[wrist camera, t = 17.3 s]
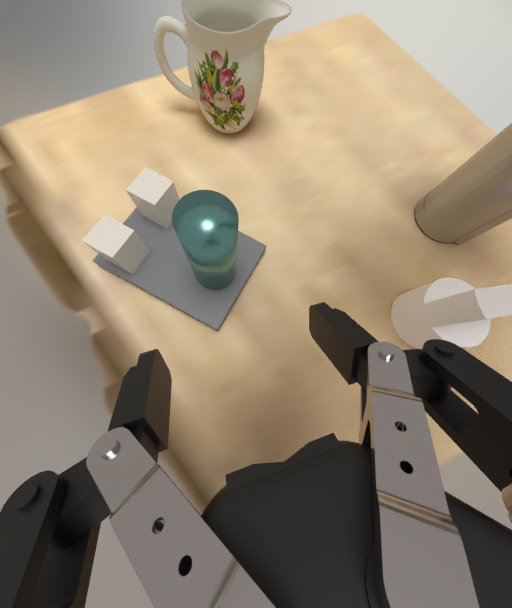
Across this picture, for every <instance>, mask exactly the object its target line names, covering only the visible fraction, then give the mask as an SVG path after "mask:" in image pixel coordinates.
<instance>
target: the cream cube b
mask: <svg viewBox="0 0 512 608" xmlns="http://www.w3.org/2000/svg"><path fill="white" fill-rule="evenodd" d="M126 191H127V192H128V194H129V195H130V197H131V198H132V200H133V201H134V203H135V205H136V206H137V208H138V209H139V211H140V212H141V214H142V215H143V216H144V217H146V218H148V219H150V220H152V221H153V222H155V223H157V224H159V225H161V226H163V227H165V228H166V229H167V228H168V227H169V225H170V224H171V223H172V212H173V209H174V207H175V205H176V204H177V202H178V201H179V197H178V194H177V191H176V188H175V185H174V182H173V181H171V180H169V179H167V178H165V177H163V176H162V175H160V174H158V173H156V172H154V171H152V170H150V169H148V168H146V167H145V169H144V170H143V171H142V172H141V173H140V174H139V175H138V177H137V178H136V179H135V180H134V181H133V182H132V184H131V185H130V186H129V187H128V188H127V189H126Z"/></svg>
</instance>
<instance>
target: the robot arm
mask: <svg viewBox="0 0 512 608" xmlns="http://www.w3.org/2000/svg"><path fill="white" fill-rule="evenodd" d="M415 217H416V221H417V223H418V225H419V227H420V228H421V230H422V231H423V232H424V233H425V234H426V235H428V236H429V237H430V238H432V239H434V240H436V241H439V242H444V243H450V242H455V243H457V244H462V243H464V242H466V241H468V240H470V239H472V238H474V237H476V236H478V235H480V234H482V233H484V232H485V231H487V230H489V229H491V228H493V227H495V226H497V225H499V224H501V223H503V222H505V221H507V220H509V219H511V218H512V123H511V124H510V125H509V126H508V127H506V128H505V129H504V130H503V131H502V132H501V133H499V134H498V135H497V136H496V137H495V138H493V139H492V140H491V141H490V142H489V143H487V144H486V145H485V146H484V147H483V148H482V149H480V150H479V151H478V152H477V153H476V154H474V155H473V156H472V157H471V158H470V159H469V160H467V161H466V162H465V163H464V164H463V165H462V166H460V167H459V168H458V169H457V170H456V171H454V172H453V173H452V174H451V175H450V176H449V177H447V178H446V179H445V180H444V181H443V182H441V183H440V184H439V185H438V186H437V187H436V188H434V189H433V190H432V191H430V192H429V193H428V194H427V195H426V196H425V197H424V198H423V199H421V200H420V201H419V202H418V204H417V206H416V209H415ZM309 329H310V333H311V336H312V338H313V339H314V340H315V342H316V343H317V344H318V345H319V347H320V348H321V349H322V351H323V352H324V353H325V354H326V356H327V357H328V358H329V360H330V361H331V362H332V363H333V365H334V366H335V367H336V369H337V370H338V371H339V372H340V374H341V375H342V376H343V378H344V379H345V380H346V381H347V383H348V384H349V385H350V384H353V383H356V382H358V383H359V385H360V386H361V388H360V432H359V443H355V442H350V441H338V440H337V438H336V436H335V435H334V433H332V434H329V435H327V436H324V437H322V438H319V439H317V440H314V441H311V442H309V443H308V444H306V445H305V446H304V447H302V448H301V449H300V450H299V451H297V452H296V453H295V454H294V455H292V456H291V457H290V458H289V459H287V460H286V461H284V462H275V463H262V464H253V465H250V466H248V467H245V468H243V469H240V470H237V471H235V472H232V473H230V474H227V475H226V483H227V485H226V486H224V487H223V488H222V489H221V490H220V491H219V492H218V493H217V494H216V495H215V496H214V497H213V499H212V500H211V501H210V502H209V504H208V506H207V507H206V509H205V510H204V512H203V514H202V516H201V515H200V513H199V512H198V511H197V510H196V509H195V507H194V506H193V505H192V504H191V503H190V502H189V500H188V499H187V498H186V497H185V496H184V494H183V493H182V492H181V491H180V490H179V488H178V487H177V486H176V485H175V484H174V482H173V481H172V480H171V479H170V478H169V476H168V475H167V474H166V473H165V472H164V471H163V469H162V468H161V467H160V466H159V465H158V463H157V460H158V452H160V451H163V450H166V449H168V433H169V416H170V400H171V384H172V380H171V374H170V371H169V369H168V367H167V365H166V363H165V361H164V359H163V357H162V355H161V354H160V352H159V350H158V349H155V350H152V351H148V352H144V353H141V354H140V355H139V359H138V363H137V366H134V367H131V368H130V369H129V371H128V372H127V374H126V375H125V376H124V378H123V381H122V385H121V389H120V392H119V395H118V397H119V398H117V402H116V405H115V408H114V412H113V415H112V418H111V422H110V425H109V429H108V432H107V433H105V434H104V435H103V436H101V437H100V438H99V439H98V440H97V441H96V442H95V444H94V445H93V447H92V448H91V449H90V451H89V453H88V456H87V457H86V458H85V459H83V460H82V461H80V462H79V463H77V464H75V465H74V466H72V467H71V468H69V469H67V470H66V471H64V472H62V473H61V474H59V475H57V474H56V473H54V472H52V471H44V472H40V473H38V474H36V475H34V476H32V477H31V478H30V479H28V480H27V481H25V482H24V483H23V484H22V485H21V486H19V487H18V488H17V489H16V491H14V493H13V494H12V495H11V496H10V497H9V499H8V500H7V502H6V503H5V504H4V506H3V508H2V510H1V512H0V608H85V602H86V596H87V592H88V587H89V581H90V576H91V571H92V566H93V561H94V556H95V551H96V545H97V540H98V535H99V530H100V525H101V521H103V520H104V519H105V518H107V517H108V516H109V515H110V514H112V515H111V516H110V518H109V519H110V523H111V525H112V528H113V529H114V531H115V533H116V535H117V537H118V539H119V541H120V543H121V545H122V547H123V549H124V551H125V552H126V554H127V556H128V558H129V560H130V562H131V564H132V566H133V568H134V570H135V572H136V574H137V575H138V577H139V579H140V581H141V583H142V585H143V587H144V589H145V591H146V593H147V595H148V596H149V598H150V600H151V602H152V604H153V606H154V608H512V530H511V529H509V528H507V527H506V526H504V525H502V524H501V523H499V522H497V521H495V520H494V519H492V518H490V517H489V516H487V515H485V514H483V513H482V512H480V511H478V510H476V509H475V508H473V507H471V506H470V505H468V504H466V503H464V502H463V501H461V500H459V499H458V498H456V497H454V496H452V495H451V494H449V493H447V492H445V491H444V489H443V484H442V480H441V476H440V472H439V468H438V464H437V459H436V455H435V451H434V447H433V443H432V439H431V434H430V430H429V426H428V422H427V418H426V413H425V411H426V412H427V413H428V414H429V415H430V416H431V418H432V419H433V420H434V421H435V422H436V423H437V424H438V425H439V426H440V427H441V428H442V429H443V430H444V431H445V432H446V434H447V435H448V436H449V437H450V438H451V439H452V440H453V441H454V442H455V443H456V444H457V445H458V446H459V447H460V448H461V450H462V451H463V452H464V453H465V454H466V455H467V456H468V457H469V458H470V459H471V460H472V461H473V462H474V463H475V464H476V465H477V467H478V468H479V469H480V470H481V471H482V472H483V473H484V474H485V475H486V476H487V477H488V478H489V479H490V480H491V482H492V483H493V484H494V485H495V486H496V487H497V488H498V489H499V490H500V491H501V492H502V499H503V502H504V504H505V506H506V508H507V510H508V511H509V512H508V516H509V519H510V520H511V522H512V382H511V381H509V380H508V379H506V378H505V377H503V376H502V375H500V374H499V373H497V372H496V371H495V370H493V369H492V368H490V367H489V366H487V365H486V364H484V363H483V362H481V361H480V360H478V359H477V358H475V357H474V356H472V355H471V354H470V353H468V352H467V351H465V350H464V349H462V348H461V347H459V346H458V345H456V344H454V343H451V342H449V341H445V340H440V339H431V340H428V341H426V342H425V343H424V345H423V348H422V349H415V350H402V349H400V348H399V347H398V346H396V345H394V344H391V343H387V342H378V341H377V340H376V339H375V338H374V337H373V336H372V335H370V334H369V333H368V332H367V331H366V330H365V329H363V328H362V327H361V326H360V325H359V324H357V323H356V322H355V321H354V320H353V319H351V317H350V316H348V315H347V314H346V313H345V312H343V311H341V310H338V309H336V308H335V309H332V308H330V307H329V306H328V305H327V304H326V303H325V302H322V303H318V304H315V305H311V306H310V308H309ZM451 387H453V388H454V389H455V390H456V391H458V392H459V393H460V394H461V395H462V396H463V397H465V398H466V399H467V400H468V401H469V402H470V403H472V404H473V405H474V406H475V408H476V409H477V411H478V413H479V414H478V413H477V412H475V411H474V410H473V409H472V408H471V407H470V406H469V405H467V404H466V403H465V402H464V401H463V400H462V399H461V398H459V397H458V396H457V395H456V394H455V393H454V392H453V391H451V390H450V389H451Z"/></svg>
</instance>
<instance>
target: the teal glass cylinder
mask: <svg viewBox="0 0 512 608" xmlns="http://www.w3.org/2000/svg"><path fill="white" fill-rule="evenodd" d="M172 224H173V227H174V230H175V232H176V234H177V237H178V239H179V241H180V243H181V245H182V248H183V250H184V252H185V254H186V256H187V259H188V261H189V263H190V265H191V267H192V270H193V272H194V274H195V276H196V278H197V280H198V282H199V283H200V284H201V285H202V286H203V287H205V288H207V289H210V290H220V289H224V288H226V287H227V286H229V285H230V284H231V283H232V281H233V280H234V278H235V275H236V258H237V239H238V213H237V210H236V208H235V206H234V204H233V203H232V202H231V201H230V200H229V199H228V198H227V197H226V196H224V195H222V194H220V193H218V192H215V191H211V190H198V191H194V192H191V193H189V194H187V195H185V196H184V197H182V198H181V199H180V200H179V201H178V202H177V204H176V205H175V207H174V209H173V212H172Z"/></svg>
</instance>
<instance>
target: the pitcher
mask: <svg viewBox="0 0 512 608" xmlns="http://www.w3.org/2000/svg"><path fill="white" fill-rule="evenodd" d="M181 7H182V11H183V14H184V18H185V21H186V25H183V24H182V23H180V22H179V21H178V20H176V19H175V18H173V17H170V16H162V17H161V18H160V19H158V21H157V23H156V26H155V30H154V45H155V52H156V56H157V59H158V62H159V65H160V67H161V69H162V72H163V74H164V75H165V77H166V78H167V80H168V81H169V82H170V83H171V85H172V86H173V87H174V88H175V89H176V90H178V91H179V92H180V93H181V94H183V95H185V96H186V97H188V98H191V99H193V100H195V101H197V102H198V105H199V107H200V109H201V111H202V113H203V115H204V116H205V118H206V119H207V121H208V122H209V123H210V124H211V125H212V127H213V128H215V129H216V130H218V131H220V132H222V133H227V134H232V133H237V132H239V131H241V130H242V129H243V128H244V127H245V126H246V125H247V123H248V122H249V121H250V119H251V118H252V116H253V114H254V111H255V109H256V106H257V104H258V100H259V97H260V93H261V88H262V82H263V74H264V46H265V44H266V41H267V39H268V36H269V34H270V33H271V31H272V29H273V28H274V26H275V25H276V24H277V23H278V22H280V21H281V20H283V19H285V18H286V17H288V16H289V15H290V13H291V7H290V6H289V5H288V4H286V3H285V2H283V1H281V0H181ZM168 32H172V33H175V34H176V35H178V36H179V37H180V38H181V39H182V40H183V41H184V43H185V44H186V47H187V61H188V70H189V75H190V80H191V84H192V87H189V86H187V85H186V84H184V83H183V82H182V81H181V80H180V79H179V78H178V77H177V76H176V75H175V74H174V73H173V72H172V70H171V69H170V67H169V65H168V63H167V60H166V57H165V52H164V48H163V38H164V35H165V34H166V33H168Z"/></svg>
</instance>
